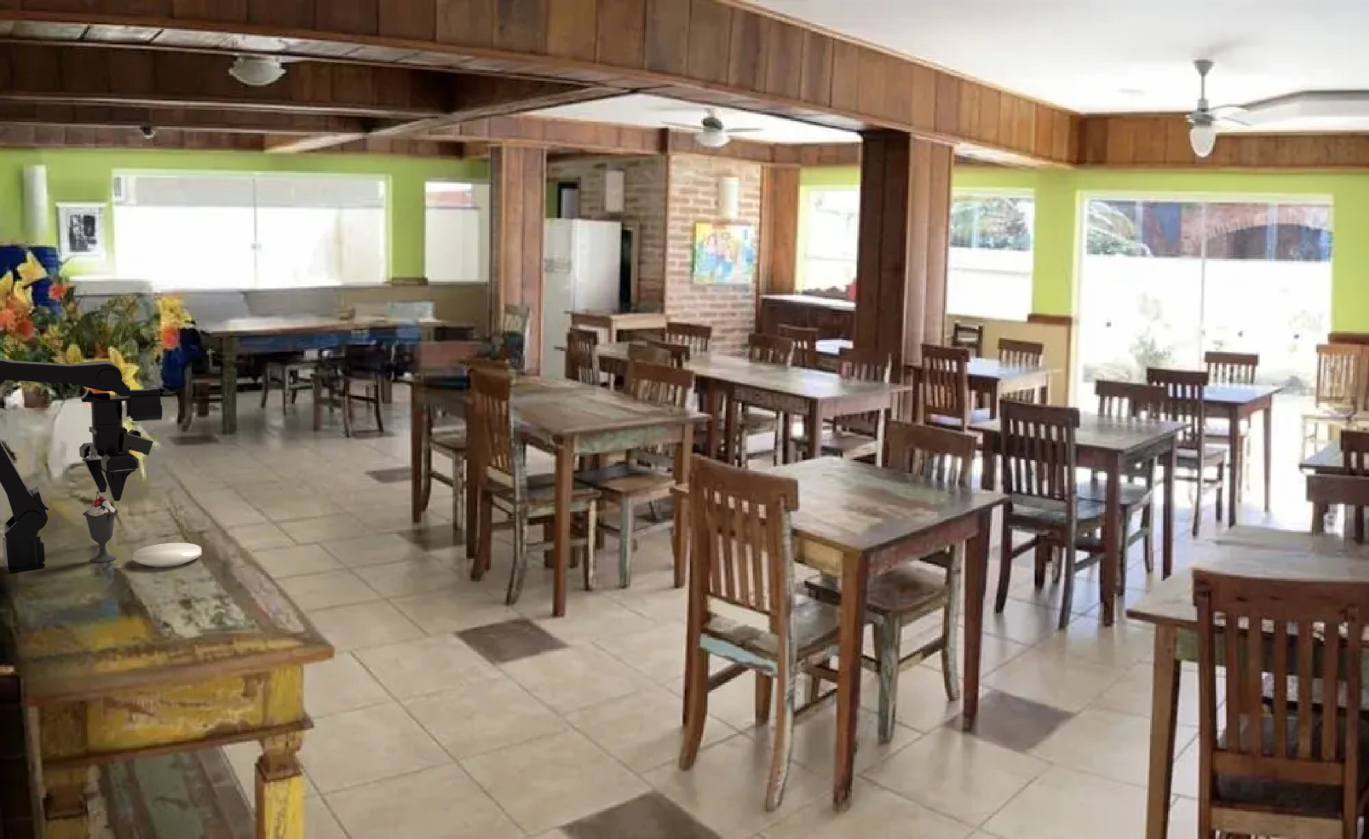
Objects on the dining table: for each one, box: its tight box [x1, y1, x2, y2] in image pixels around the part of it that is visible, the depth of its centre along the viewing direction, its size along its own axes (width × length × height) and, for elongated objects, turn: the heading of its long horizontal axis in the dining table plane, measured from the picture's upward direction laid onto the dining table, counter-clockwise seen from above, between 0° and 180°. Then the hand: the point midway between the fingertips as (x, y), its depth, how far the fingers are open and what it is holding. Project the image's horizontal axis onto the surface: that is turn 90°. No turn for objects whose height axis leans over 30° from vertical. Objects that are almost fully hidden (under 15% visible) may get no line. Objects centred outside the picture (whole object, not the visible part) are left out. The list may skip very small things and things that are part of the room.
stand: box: [132, 542, 202, 568], centre depth 248 cm, size 13×13×2 cm
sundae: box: [82, 490, 119, 564], centre depth 247 cm, size 7×7×15 cm
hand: (109, 496), depth 248 cm, fingers open, 9 cm apart
